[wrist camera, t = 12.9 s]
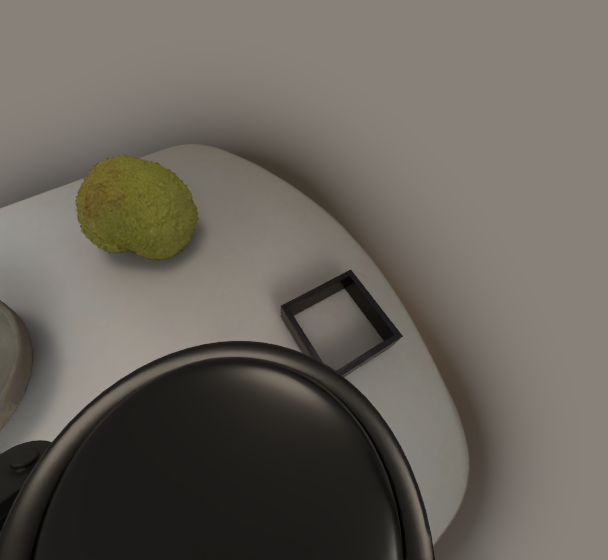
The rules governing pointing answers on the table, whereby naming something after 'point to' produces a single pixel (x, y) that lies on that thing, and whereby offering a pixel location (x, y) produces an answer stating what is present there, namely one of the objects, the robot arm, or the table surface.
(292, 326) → the holder
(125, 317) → the table surface
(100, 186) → the fruit
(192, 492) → the lotion bottle
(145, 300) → the table surface
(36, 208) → the table surface
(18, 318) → the bowl
